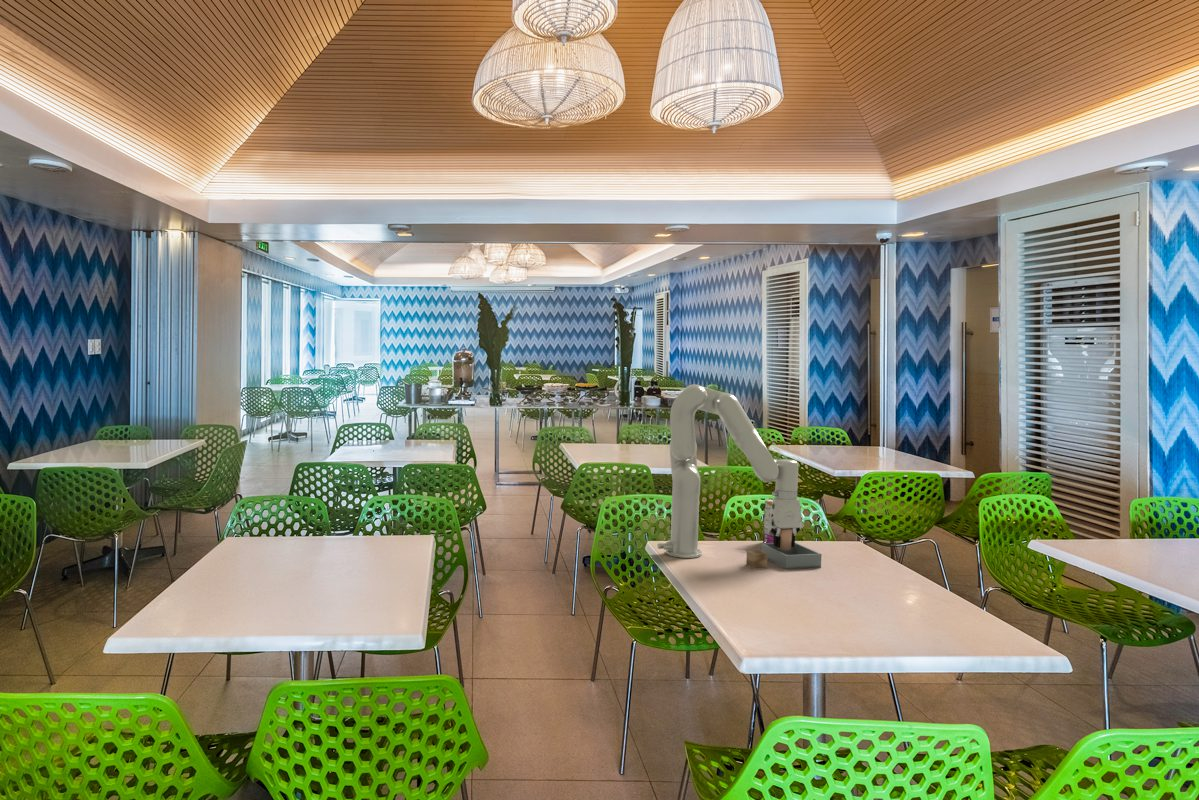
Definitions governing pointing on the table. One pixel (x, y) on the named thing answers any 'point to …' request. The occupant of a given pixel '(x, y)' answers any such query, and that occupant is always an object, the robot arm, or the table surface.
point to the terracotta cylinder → (785, 539)
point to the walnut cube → (756, 559)
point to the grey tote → (792, 556)
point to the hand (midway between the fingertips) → (784, 546)
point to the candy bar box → (767, 534)
